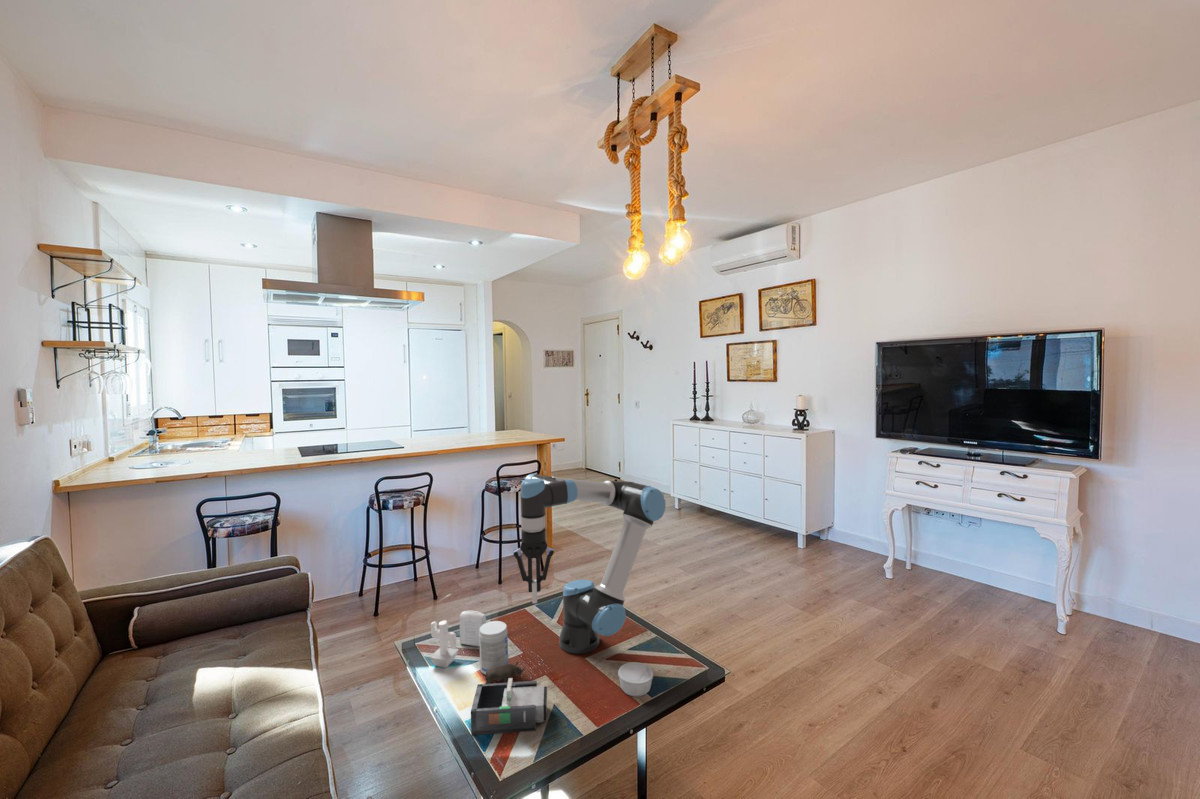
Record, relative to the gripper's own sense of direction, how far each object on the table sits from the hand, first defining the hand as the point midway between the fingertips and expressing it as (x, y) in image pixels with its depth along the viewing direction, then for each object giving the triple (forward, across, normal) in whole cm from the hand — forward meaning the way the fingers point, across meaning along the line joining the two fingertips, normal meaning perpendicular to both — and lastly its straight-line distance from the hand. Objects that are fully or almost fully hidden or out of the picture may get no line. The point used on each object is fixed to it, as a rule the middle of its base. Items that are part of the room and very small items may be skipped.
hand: (534, 601), depth 156 cm
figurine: (+30, +33, -18) cm, 48 cm away
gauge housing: (+29, +9, +12) cm, 33 cm away
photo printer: (+30, +25, -30) cm, 49 cm away
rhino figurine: (+30, +10, -5) cm, 32 cm away
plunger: (+28, +3, +12) cm, 31 cm away
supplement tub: (+30, +15, -13) cm, 36 cm away
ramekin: (+30, -32, +2) cm, 44 cm away
